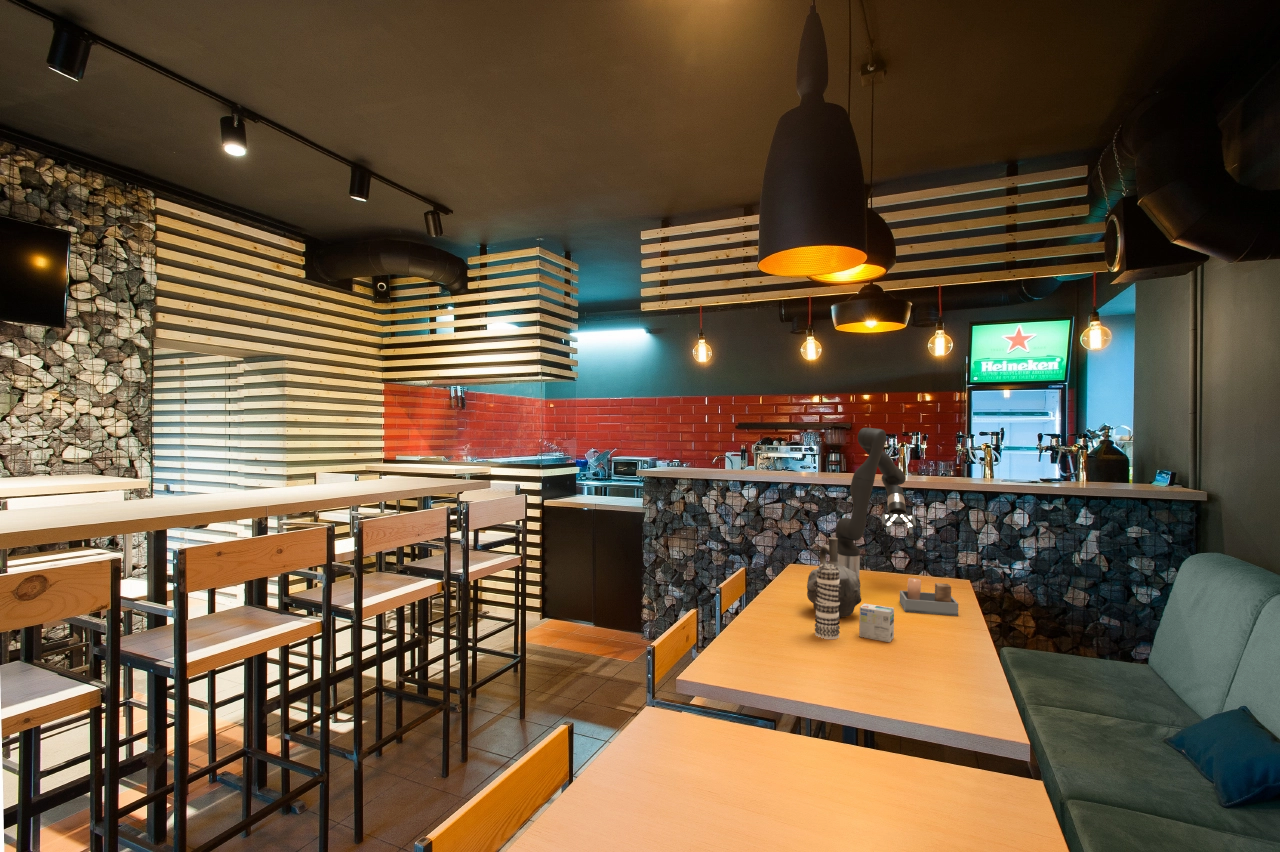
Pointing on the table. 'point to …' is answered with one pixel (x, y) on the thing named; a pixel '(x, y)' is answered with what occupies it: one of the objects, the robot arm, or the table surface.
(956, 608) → the tote
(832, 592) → the black white tall cylinder
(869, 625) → the light bulb box
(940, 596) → the walnut block
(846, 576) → the vessel
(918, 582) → the terracotta cylinder
